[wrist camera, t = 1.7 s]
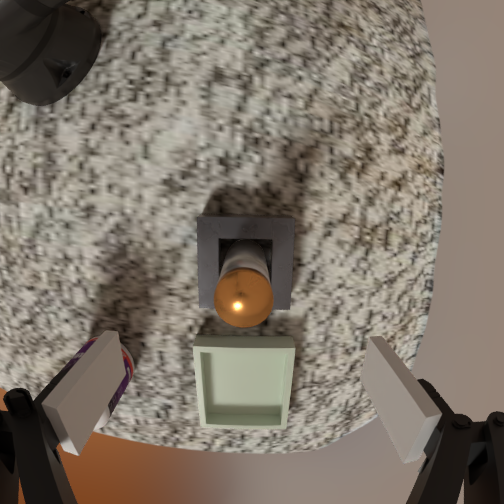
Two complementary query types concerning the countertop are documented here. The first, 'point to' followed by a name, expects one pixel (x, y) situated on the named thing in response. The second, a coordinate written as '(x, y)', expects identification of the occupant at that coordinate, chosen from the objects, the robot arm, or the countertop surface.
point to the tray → (243, 380)
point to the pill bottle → (120, 390)
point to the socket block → (245, 228)
